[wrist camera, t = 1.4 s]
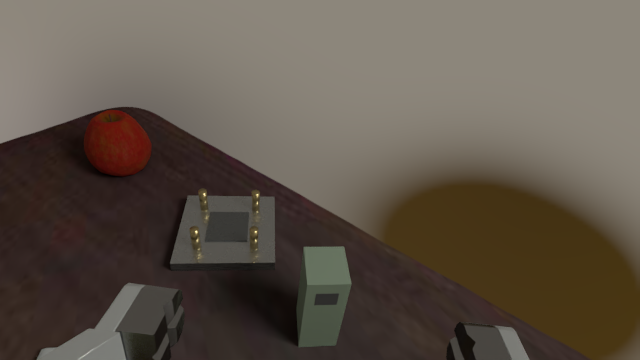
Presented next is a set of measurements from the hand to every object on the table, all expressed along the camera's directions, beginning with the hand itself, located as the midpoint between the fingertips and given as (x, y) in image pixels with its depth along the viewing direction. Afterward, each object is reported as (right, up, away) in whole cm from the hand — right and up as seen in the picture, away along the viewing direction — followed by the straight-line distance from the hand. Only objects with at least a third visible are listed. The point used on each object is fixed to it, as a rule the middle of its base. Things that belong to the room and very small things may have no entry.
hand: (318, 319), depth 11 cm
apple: (-36, +7, +57) cm, 68 cm away
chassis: (-14, -4, +47) cm, 49 cm away
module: (-1, -14, +36) cm, 39 cm away
